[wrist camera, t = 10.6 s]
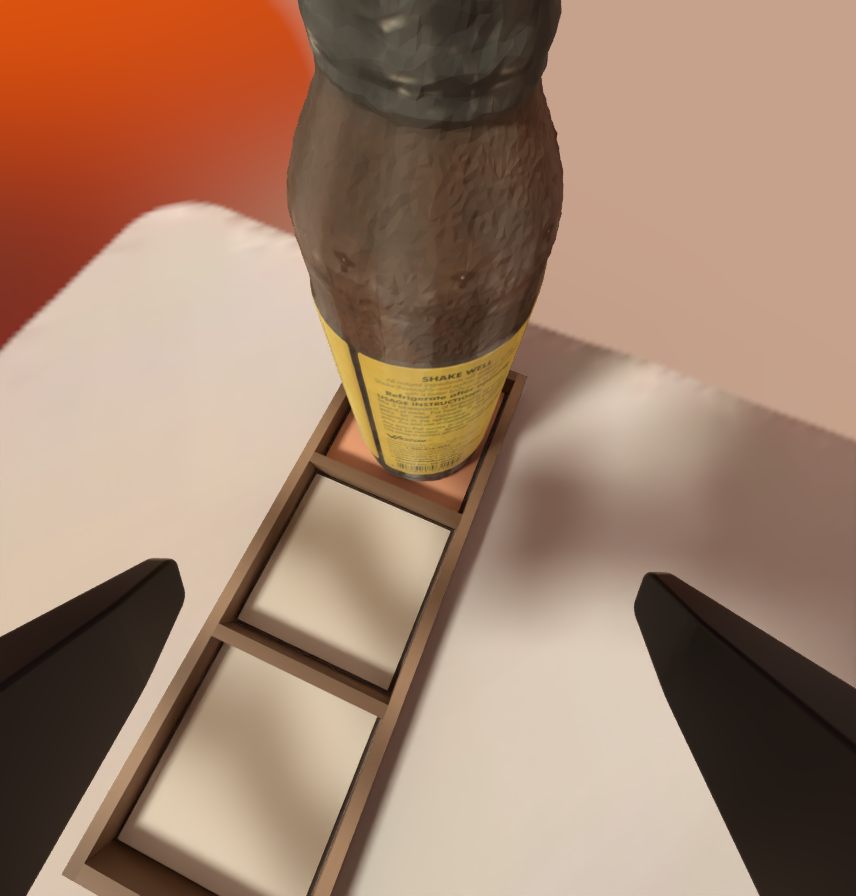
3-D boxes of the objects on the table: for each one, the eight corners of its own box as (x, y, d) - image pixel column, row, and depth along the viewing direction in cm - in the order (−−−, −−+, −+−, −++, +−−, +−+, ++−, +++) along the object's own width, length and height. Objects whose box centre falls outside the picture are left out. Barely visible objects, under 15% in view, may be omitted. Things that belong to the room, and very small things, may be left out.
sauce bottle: (503, 421, 21) (1235, -907, 2) (430, 511, 19) (1120, -2166, 1) (410, 354, 22) (416, -895, 4) (333, 433, 20) (-486, -1269, 2)
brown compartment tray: (300, 963, 14) (288, 1005, 12) (94, 847, 15) (61, 874, 13) (519, 390, 22) (527, 376, 21) (379, 336, 23) (378, 319, 22)
